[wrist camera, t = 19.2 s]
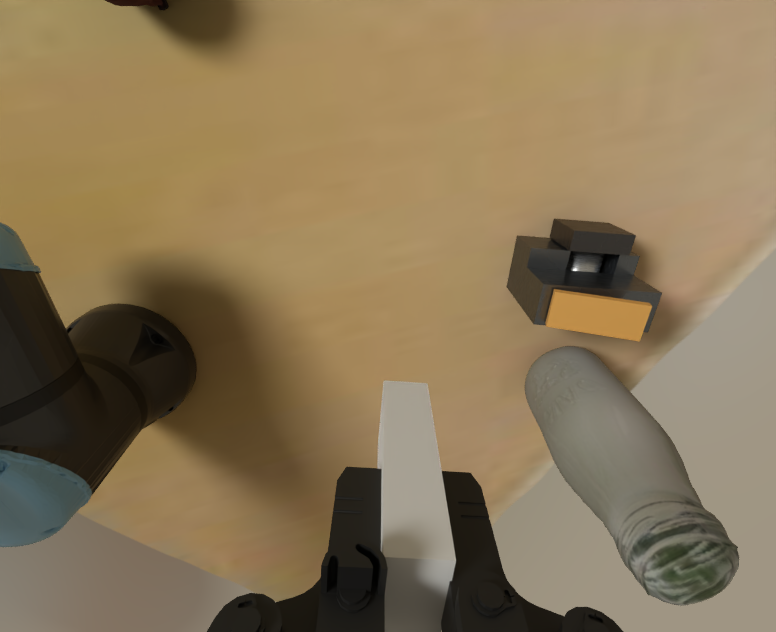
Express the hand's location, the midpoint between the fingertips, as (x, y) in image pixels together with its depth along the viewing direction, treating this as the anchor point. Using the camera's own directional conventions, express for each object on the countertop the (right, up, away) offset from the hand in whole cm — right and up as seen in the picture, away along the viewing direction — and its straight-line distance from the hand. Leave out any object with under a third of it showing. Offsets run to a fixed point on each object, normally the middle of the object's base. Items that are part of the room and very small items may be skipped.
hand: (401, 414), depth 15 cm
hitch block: (+19, +9, +34) cm, 40 cm away
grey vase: (+20, -3, +39) cm, 45 cm away
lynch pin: (+20, +9, +34) cm, 40 cm away
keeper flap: (+18, +4, +24) cm, 30 cm away
